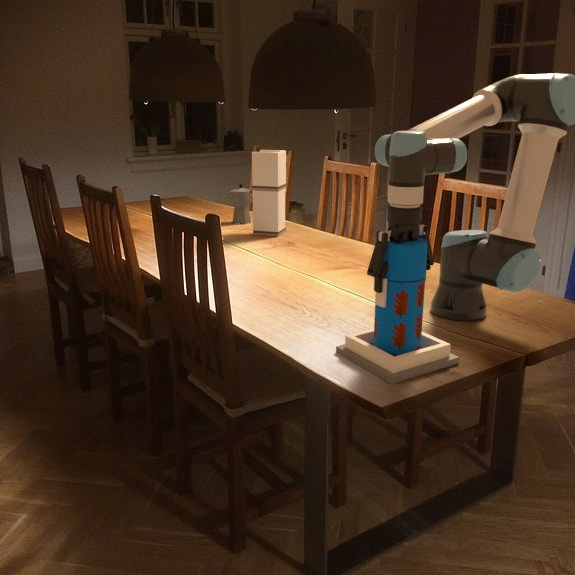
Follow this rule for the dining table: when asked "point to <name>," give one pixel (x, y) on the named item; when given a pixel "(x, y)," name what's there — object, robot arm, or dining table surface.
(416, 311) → the thermos
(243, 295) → the dining table surface
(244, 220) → the coffeepot
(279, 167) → the cream tall block
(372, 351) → the holder
